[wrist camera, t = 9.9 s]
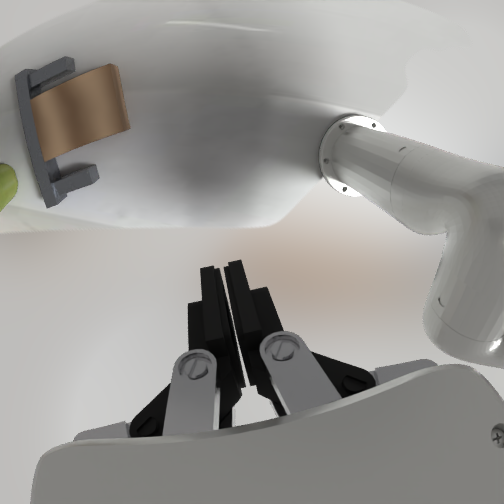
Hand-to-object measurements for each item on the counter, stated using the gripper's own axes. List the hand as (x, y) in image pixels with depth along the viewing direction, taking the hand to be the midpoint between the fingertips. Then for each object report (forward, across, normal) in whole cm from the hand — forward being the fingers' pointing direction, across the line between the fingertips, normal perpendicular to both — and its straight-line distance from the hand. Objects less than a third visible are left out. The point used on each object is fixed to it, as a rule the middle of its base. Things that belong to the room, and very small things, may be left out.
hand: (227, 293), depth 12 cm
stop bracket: (+29, +19, -10) cm, 36 cm away
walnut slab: (+30, +15, -11) cm, 35 cm away
